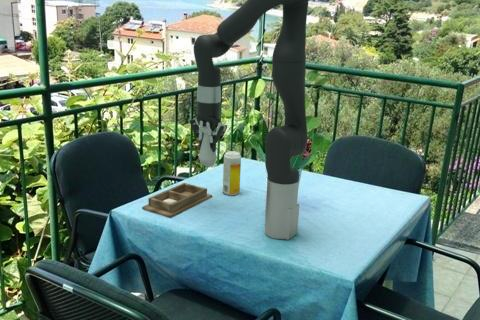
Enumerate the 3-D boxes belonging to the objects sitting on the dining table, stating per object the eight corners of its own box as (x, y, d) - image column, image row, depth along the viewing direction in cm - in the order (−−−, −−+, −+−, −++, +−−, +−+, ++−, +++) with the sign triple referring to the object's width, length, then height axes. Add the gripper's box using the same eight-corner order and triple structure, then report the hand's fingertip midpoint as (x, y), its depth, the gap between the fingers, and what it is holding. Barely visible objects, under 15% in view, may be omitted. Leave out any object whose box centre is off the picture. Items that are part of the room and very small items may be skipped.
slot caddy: (212, 197, 182) (212, 187, 181) (170, 218, 163) (170, 208, 162) (185, 189, 188) (185, 180, 187) (142, 209, 169) (141, 199, 168)
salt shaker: (208, 168, 164) (209, 128, 160) (194, 164, 168) (195, 125, 164) (219, 164, 169) (221, 125, 165) (206, 160, 172) (207, 122, 168)
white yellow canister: (242, 192, 187) (244, 153, 183) (233, 197, 182) (235, 156, 178) (228, 188, 190) (230, 150, 186) (219, 193, 185) (220, 153, 181)
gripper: (234, 101, 161) (231, 153, 166) (198, 95, 168) (197, 145, 173) (220, 104, 155) (218, 159, 160) (183, 98, 162) (183, 150, 167)
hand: (207, 151), depth 167 cm, fingers closed on salt shaker, 3 cm apart
